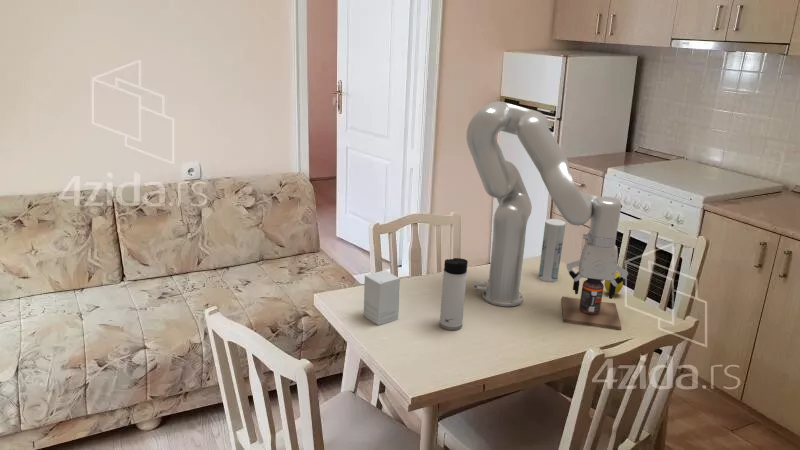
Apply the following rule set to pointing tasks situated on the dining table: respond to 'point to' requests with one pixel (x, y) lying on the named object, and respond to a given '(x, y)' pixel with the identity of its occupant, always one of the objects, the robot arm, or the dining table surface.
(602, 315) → the walnut board
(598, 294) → the supplement bottle
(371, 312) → the supplement box
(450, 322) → the travel mug
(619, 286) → the lemon
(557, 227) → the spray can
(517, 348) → the dining table surface
